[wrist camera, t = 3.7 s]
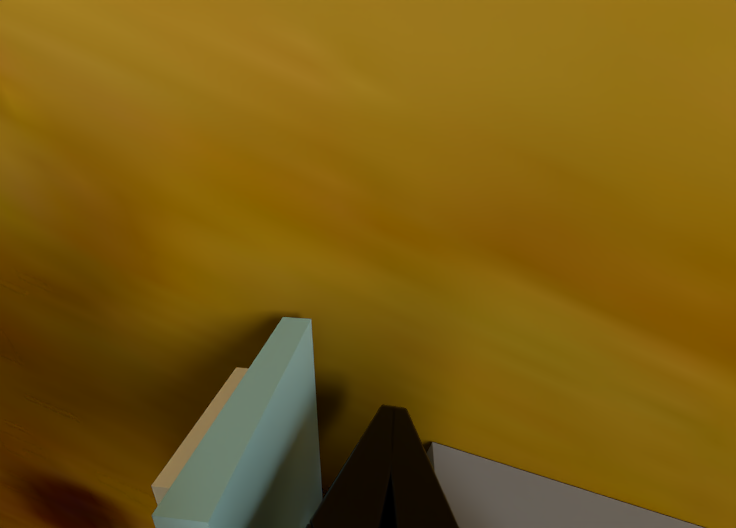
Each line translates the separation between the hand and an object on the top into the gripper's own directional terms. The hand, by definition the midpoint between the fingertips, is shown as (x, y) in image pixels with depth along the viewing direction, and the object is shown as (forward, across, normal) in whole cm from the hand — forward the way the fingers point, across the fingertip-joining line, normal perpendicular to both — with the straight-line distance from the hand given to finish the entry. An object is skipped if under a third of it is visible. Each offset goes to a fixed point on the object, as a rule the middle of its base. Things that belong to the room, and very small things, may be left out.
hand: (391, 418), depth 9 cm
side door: (+1, +3, +6) cm, 7 cm away
